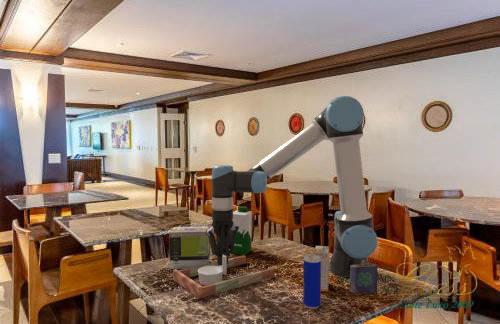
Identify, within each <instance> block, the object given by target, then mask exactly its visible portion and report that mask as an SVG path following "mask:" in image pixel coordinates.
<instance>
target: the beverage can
mask: <svg viewBox="0 0 500 324" xmlns="http://www.w3.org/2000/svg"><path fill="white" fill-rule="evenodd" d="M302 267H303V275H302V276H303V277H302V278H303V283H302V286H303V288H302V289H303V291H302V304H303V305H304V307H305V308H308V309H310V310H311V309H313V310H314V309H319V308H320V307H321V299H322V298H321V294H322V293H321V292H322V291H321V259H320V256H318V255H315V253H314V254H313V253H312V254H311V253H310V254H305V255H304V257H303V266H302Z"/></svg>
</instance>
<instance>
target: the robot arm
mask: <svg viewBox="0 0 500 324" xmlns="http://www.w3.org/2000/svg"><path fill="white" fill-rule="evenodd" d="M364 113H365V112H364V108H363V106H362V104H361V102H360V101H359V100H357V99H356V98H355V97H352V96H348V95H343V96H342V95H341V96H337V97H335V98H333V99H331V101H330V102H329V103H328V104H327V105H326V107H325V108H324V109H323V110H322V111H321V112H320V113H319V114H318V115H317V116H316V117H314V118H312V123H311V124H309V125H308V126H307V127H305V128H304V129H303V130H301V131H299V132H298V133H297V134H296V135H295V136H293V137H292V138H290V139H288V141H286V142H285V143H284V144H282V145H281V146H279V147H278V148H277V149H276V150H274V151H273V152H271V153H270V154H269V155H268V156H266V157H264V158H263V159H262V160H261V161H259V162H258V163H257V164H255V165H253V166H252V167H251V168H249V169H248V170H246V171H243V170H242V171H237V170H234V167H233V166H232V165H231V164H229V165H228V164H227V165H226V164H220V165H218V164H217V165H214V166H213V167H212V170H211V178H210V179H211V208H212V210H211V220H212V223H211V224H210V225H211V226H210V227H209V230H208V229H207V230H206V233H207V235H208V237H209V242H210V251H211V253H212V255H213V256H215V257H217V259H216V260H217V261H216V262H217V264H218V265H219V267H221V268H222V269H223V273H222V276H223V275H224V276H225V275H227V271H228V270H227V269H228V268H227V264H228V259H229V257H230V256H231V254H232V252H233V249H234V244H235V239H236V234H237V231H238V229H239V226H236V225H234V223H233V220H232V219H233V212H234V210H233V207H234V193H247V194H249V193H251V194H252V193H253V194H258V193H259V194H260V193H261V194H263V193H266V191H267V188H268V187H267V185H268V181H269V180H270V179H271V178H273V177H274V176H275V175H277V174H279V173H280V172H281V171H283V170H284V169H285V168H287V167H288V166H290V165H291V164H293V162H295V161H296V160H298V159H299V158H301V157H302V156H303V155H305V154H306V153H307V152H309V151H310V150H312V149H313V148H315V147H316V146H317V145H319V144H320V143H321V142H323V141H325V140H326V141H330V142H331V143H332V145H333V146H332V147H333V154H334V155H333V156H334V163H335V171H336V181H337V189H338V197H339V198H338V199H339V205H340V206H339V208H340V210H337V211H336V212H335V213H334V218H333V220H334V236H333V237H334V241H333V242H334V243H333V244H334V245H333V246H334V247H333V252H332V255H331V258H330V260H329V272H331V273H333V274H334V275H336V276H339V277H344V278H348V279H350V266H351V265H359V264H361V262H362V259H364V260H365V262H366V263H369V260H368V258H369V257H370V256H371V255H372V254H374V252H376V249H377V247H378V243H379V242H378V236H377V233H376V232H375V231H374V220H373V214H371V212H370V211H368V209H367V200H366V191H365V183H364V174H363V164H362V157H361V156H362V155H361V148H360V147H361V145H360V139H362V137H363V136H364V131H363V130H364V129H363V121H364V115H365V114H364Z"/></svg>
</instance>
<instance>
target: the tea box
mask: <svg viewBox="0 0 500 324" xmlns="http://www.w3.org/2000/svg"><path fill="white" fill-rule="evenodd" d="M207 229H208V230H209V229H210V226H207V225H206V226H204V225H203V226H174V227H172V229H171V230H170V231H169V232H168V234H169V235H168V236H169V237H168V238H169V239H168V241H169V243H168V244H169V245H168V246H169V269H170V270H175V269H177V270H182V269H187V268H191V267H195V266H200V265H204V264H209V263H211V246H210V242H209V237H208V235H207V233H206V230H207Z"/></svg>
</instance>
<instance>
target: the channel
mask: <svg viewBox="0 0 500 324" xmlns="http://www.w3.org/2000/svg"><path fill="white" fill-rule="evenodd" d="M246 263H247V256H246V255H240V256H236V257H230V258H228V264H227V269H229V268H233V267H237V266H241V265H246ZM205 266H218V267H219V265H218V264H217V261H214V262H213V261H212V262H209V264H204V265H200V266H195V267H191V268H187V269H172V280H173V281H174V282H176V283H177V284H178V285H180V286H181V287H182V288H184V289H185V290H187V291H188V292H190V294H192V295H194V297H196V298H197V299H202V298H206V297H208V296H213V295H216V294H220V293H223V292H227V291H229V290H234V289H237V288H240V287H244V286H247V285H251V284H255V283H258V282H261V281H265V280H269V279H272V278H275V272H276V271H275V268H274V267H271V268H265V269H263V270H260V271H256V272H252V273H248V274H244V275H241V276H236V277H233V278H230V279H226V280H222V281H221V282H217V283H214V284H210V285H202V284H200V283H197V281H195V280H193V279H192V277H195V276H199V274H198V269H200V268H202V267H205Z"/></svg>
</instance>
